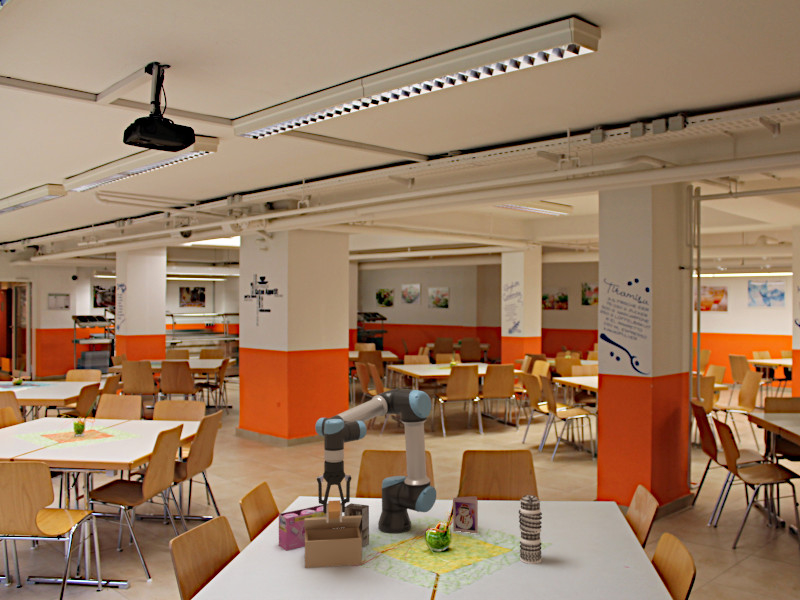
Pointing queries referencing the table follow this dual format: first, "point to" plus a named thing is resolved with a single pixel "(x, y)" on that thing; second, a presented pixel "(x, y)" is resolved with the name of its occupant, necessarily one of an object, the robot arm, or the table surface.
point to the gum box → (296, 526)
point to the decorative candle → (530, 529)
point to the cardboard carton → (333, 547)
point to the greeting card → (465, 514)
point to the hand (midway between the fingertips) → (334, 521)
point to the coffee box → (364, 524)
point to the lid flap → (332, 519)
